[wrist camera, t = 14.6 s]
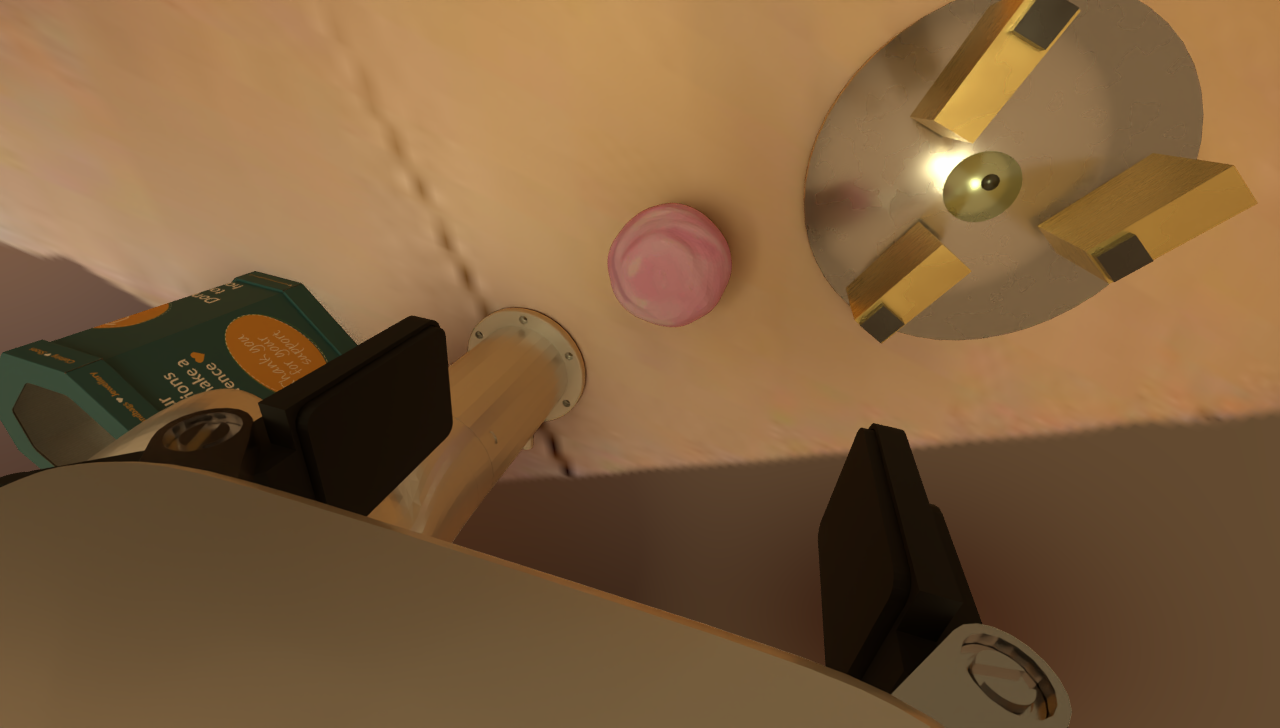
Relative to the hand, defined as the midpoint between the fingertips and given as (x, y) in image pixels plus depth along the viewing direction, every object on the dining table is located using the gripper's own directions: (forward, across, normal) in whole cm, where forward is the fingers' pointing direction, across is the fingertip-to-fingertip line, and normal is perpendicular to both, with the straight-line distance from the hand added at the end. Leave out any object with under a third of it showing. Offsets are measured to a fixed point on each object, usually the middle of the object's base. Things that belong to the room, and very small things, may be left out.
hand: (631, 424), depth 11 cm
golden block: (+30, -12, +3) cm, 32 cm away
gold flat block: (+30, -22, -3) cm, 37 cm away
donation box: (+33, +48, +25) cm, 63 cm away
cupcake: (+32, +4, +5) cm, 33 cm away
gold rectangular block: (+30, -12, -9) cm, 33 cm away
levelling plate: (+32, -15, -3) cm, 36 cm away
